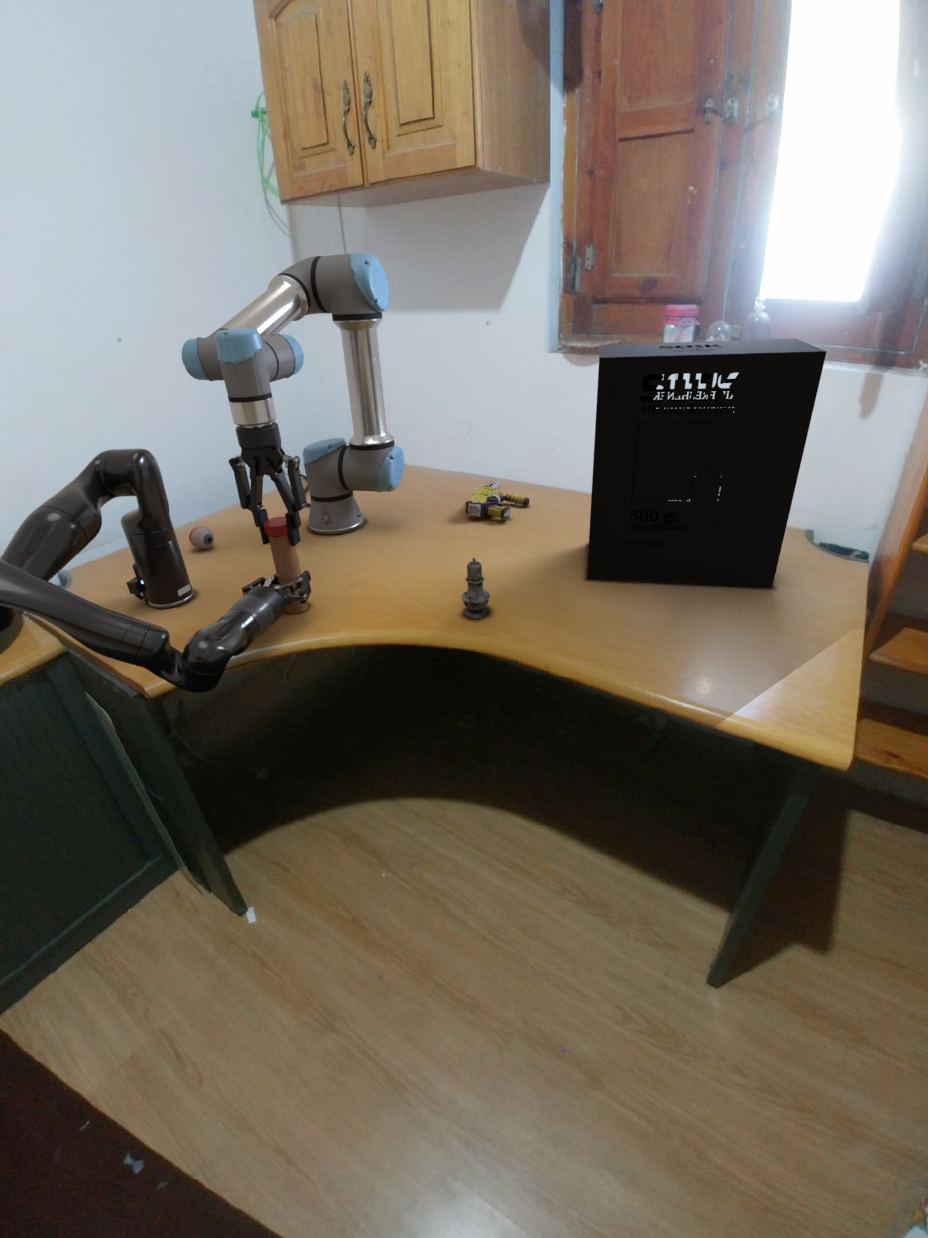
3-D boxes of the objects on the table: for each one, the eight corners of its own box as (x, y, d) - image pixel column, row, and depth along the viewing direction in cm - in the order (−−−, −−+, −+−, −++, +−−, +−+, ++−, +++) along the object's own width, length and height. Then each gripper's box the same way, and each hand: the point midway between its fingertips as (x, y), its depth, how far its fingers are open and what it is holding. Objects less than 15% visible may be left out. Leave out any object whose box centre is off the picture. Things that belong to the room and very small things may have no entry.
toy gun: (537, 485, 181) (489, 478, 185) (516, 509, 160) (463, 500, 164) (535, 500, 183) (488, 493, 187) (515, 526, 163) (463, 517, 167)
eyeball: (203, 554, 156) (196, 532, 153) (187, 550, 159) (181, 528, 156) (222, 546, 160) (216, 524, 157) (206, 542, 163) (200, 521, 160)
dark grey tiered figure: (488, 619, 119) (486, 564, 113) (459, 618, 120) (455, 563, 114) (493, 605, 124) (491, 551, 118) (465, 604, 125) (462, 550, 119)
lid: (270, 539, 116) (268, 528, 115) (260, 530, 120) (258, 521, 119) (298, 531, 119) (296, 521, 118) (288, 523, 123) (285, 514, 122)
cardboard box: (752, 548, 142) (795, 338, 119) (772, 587, 124) (826, 351, 102) (589, 543, 149) (600, 344, 127) (586, 579, 132) (599, 357, 110)
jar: (289, 615, 125) (270, 529, 116) (281, 607, 129) (261, 523, 119) (311, 608, 127) (294, 523, 118) (302, 600, 131) (285, 517, 121)
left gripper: (225, 628, 116) (269, 587, 130) (293, 633, 113) (330, 591, 127) (215, 593, 112) (261, 556, 127) (285, 598, 109) (324, 559, 123)
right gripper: (312, 418, 110) (332, 537, 122) (222, 419, 114) (250, 533, 126) (293, 428, 104) (316, 552, 115) (198, 428, 108) (230, 548, 119)
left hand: (296, 574), depth 127 cm, fingers closed on jar, 5 cm apart
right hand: (282, 542), depth 120 cm, fingers closed on lid, 5 cm apart
